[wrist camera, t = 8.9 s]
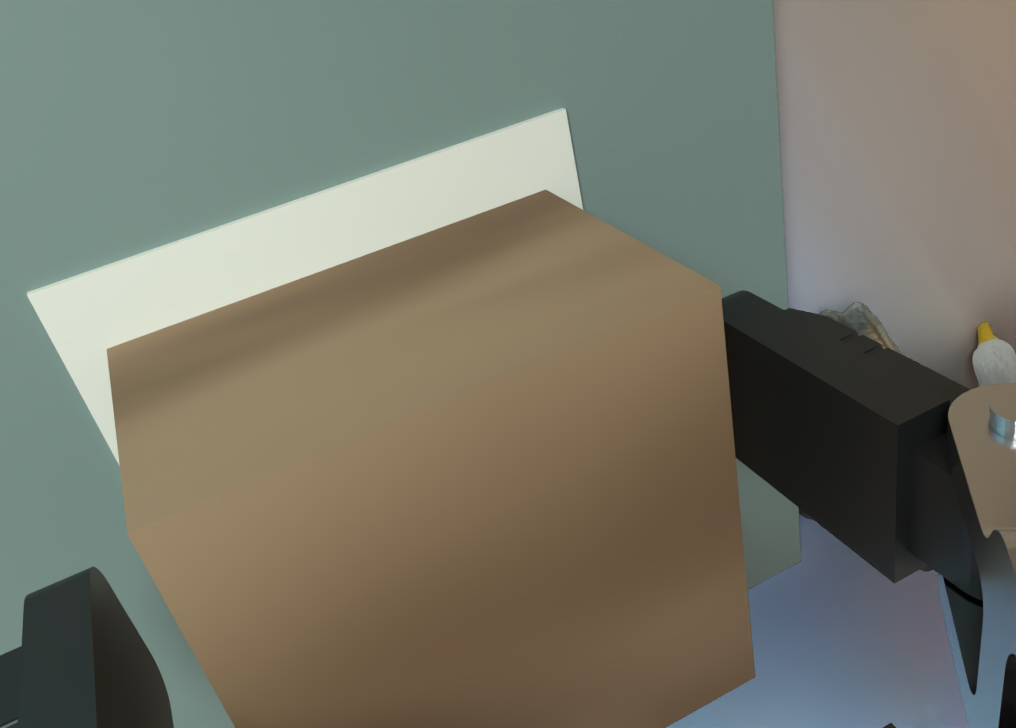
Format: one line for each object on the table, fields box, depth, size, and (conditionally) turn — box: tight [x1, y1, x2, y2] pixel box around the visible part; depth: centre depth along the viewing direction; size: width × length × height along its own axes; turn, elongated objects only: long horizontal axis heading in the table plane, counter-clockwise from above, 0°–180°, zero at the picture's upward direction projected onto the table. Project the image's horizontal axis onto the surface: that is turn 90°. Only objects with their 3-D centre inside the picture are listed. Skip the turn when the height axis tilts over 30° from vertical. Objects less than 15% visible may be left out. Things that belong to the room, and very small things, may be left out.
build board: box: [0, 0, 801, 728], centre depth 13 cm, size 14×14×1 cm
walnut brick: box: [107, 190, 755, 728], centre depth 12 cm, size 6×6×4 cm
